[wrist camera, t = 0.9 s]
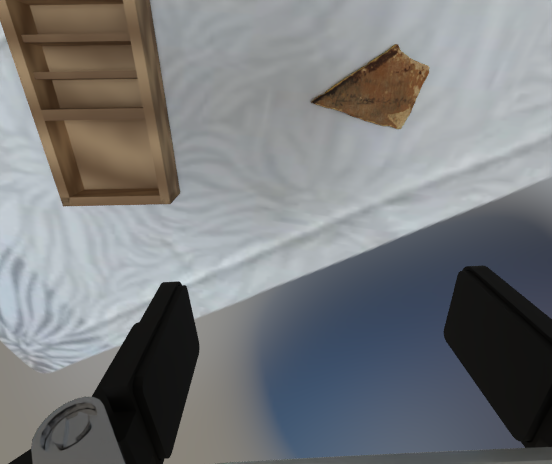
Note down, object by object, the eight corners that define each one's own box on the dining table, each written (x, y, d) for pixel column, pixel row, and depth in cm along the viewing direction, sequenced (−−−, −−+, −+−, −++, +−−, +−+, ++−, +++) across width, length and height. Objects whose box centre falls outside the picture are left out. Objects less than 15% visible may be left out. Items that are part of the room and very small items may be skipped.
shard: (309, 102, 33) (311, 102, 32) (334, 24, 30) (337, 20, 29) (396, 131, 35) (402, 133, 33) (428, 59, 32) (436, 57, 30)
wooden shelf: (22, -5, 29) (-14, -19, 25) (148, -7, 29) (130, -21, 25) (83, 195, 37) (63, 206, 33) (180, 193, 37) (170, 203, 34)
